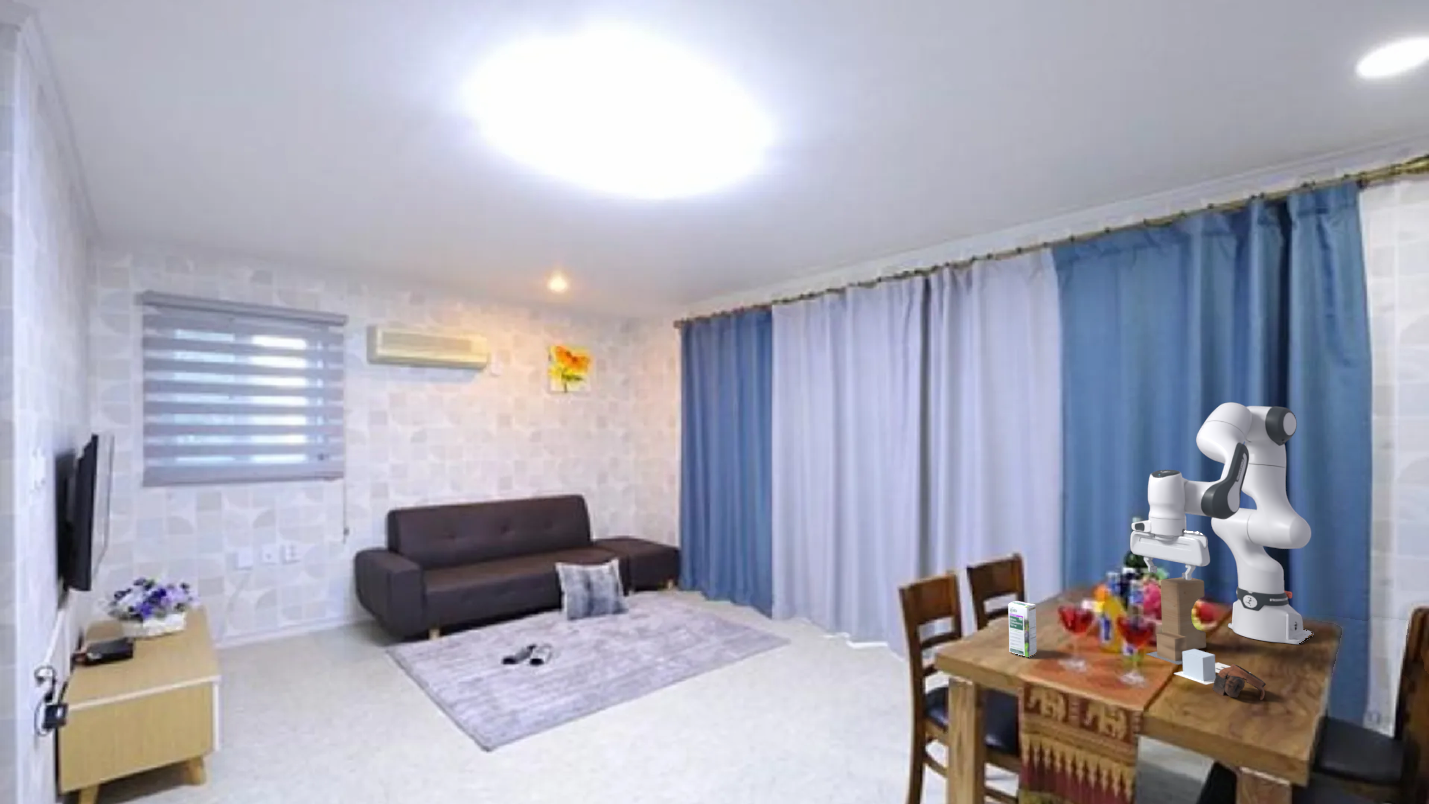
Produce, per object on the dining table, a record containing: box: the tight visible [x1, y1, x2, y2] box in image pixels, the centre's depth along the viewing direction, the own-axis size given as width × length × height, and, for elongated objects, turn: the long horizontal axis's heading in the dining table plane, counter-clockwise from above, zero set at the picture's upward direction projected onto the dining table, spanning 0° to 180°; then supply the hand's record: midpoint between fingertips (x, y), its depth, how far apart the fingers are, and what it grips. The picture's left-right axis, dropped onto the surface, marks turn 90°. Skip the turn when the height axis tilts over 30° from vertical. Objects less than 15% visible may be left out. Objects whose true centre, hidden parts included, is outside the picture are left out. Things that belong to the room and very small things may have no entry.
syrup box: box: [1007, 600, 1038, 658], centre depth 190 cm, size 6×6×14 cm
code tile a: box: [1215, 662, 1252, 674], centre depth 175 cm, size 8×8×1 cm
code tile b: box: [1173, 670, 1215, 686], centre depth 171 cm, size 8×8×1 cm
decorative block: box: [1160, 576, 1207, 650], centre depth 194 cm, size 11×6×20 cm, turn 107°
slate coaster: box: [1146, 651, 1183, 666], centre depth 185 cm, size 9×9×1 cm
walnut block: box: [1156, 632, 1187, 661], centre depth 185 cm, size 5×5×6 cm
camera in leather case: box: [1211, 663, 1267, 701], centre depth 159 cm, size 12×10×8 cm
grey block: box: [1182, 649, 1217, 681], centre depth 171 cm, size 5×5×6 cm
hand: (1169, 575), depth 186 cm, fingers open, 8 cm apart
